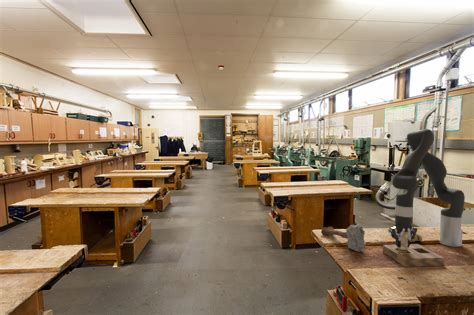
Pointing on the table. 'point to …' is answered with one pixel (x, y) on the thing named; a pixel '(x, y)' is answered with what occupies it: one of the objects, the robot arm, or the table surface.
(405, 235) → the birch peg
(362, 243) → the hammer
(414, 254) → the walnut board
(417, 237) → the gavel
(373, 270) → the table surface
